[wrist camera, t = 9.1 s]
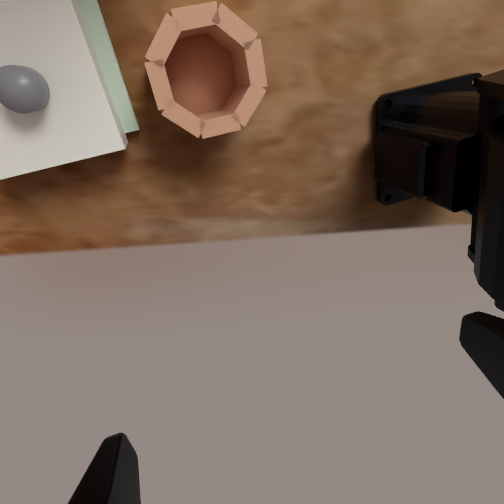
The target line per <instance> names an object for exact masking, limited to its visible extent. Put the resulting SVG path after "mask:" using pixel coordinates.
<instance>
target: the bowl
mask: <svg viewBox="0 0 504 504" xmlns="http://www.w3.org/2000/svg"><path fill="white" fill-rule="evenodd" d="M257 35H258V34H257V33H256V32H255V31H254V30H253V29H252V28H250V27H249V26H248V25H247V24H246V23H245V22H243V21H242V20H241V19H240V18H239V17H238V16H237V15H235V14H234V13H233V12H232V11H231V10H230V9H228V8H227V7H226V6H225V5H224V4H223V3H220V5H219V6H218V7H217V2H216V1H213V2H208V3H202V4H197V5H192V6H187V7H181V8H176V9H171V11H170V15H169V14H168V13H166V15H165V17H164V19H163V21H162V23H161V25H160V27H159V29H158V31H157V33H156V35H155V37H154V39H153V41H152V43H151V45H150V47H149V49H148V51H147V53H146V55H145V59H146V61H147V62H145V63H144V64H145V67H146V70H147V74H148V77H149V80H150V84H151V87H152V90H153V94H154V97H155V101H156V104H157V107H158V110H161V114H162V115H163V116H164V117H166V118H168V119H169V120H171V121H172V122H174V123H175V124H177V125H179V126H180V127H182V128H183V129H185V130H186V131H188V132H190V133H191V134H193V135H194V136H196V137H197V138H199V136H201V137H202V138H203V139H204V138H209V137H213V136H217V135H221V134H225V133H229V132H234V131H238V130H241V127H240V125H242V126H244V127H245V126H246V124H247V122H248V121H249V119H250V117H251V116H252V114H253V112H254V111H255V109H256V107H257V106H258V104H259V103H260V101H261V99H262V98H263V96H264V94H265V93H266V90H265V89H264V88H262V87H265V86H267V79H266V72H265V66H264V59H263V52H262V45H261V39H257V40H255V38H256V37H257Z"/></svg>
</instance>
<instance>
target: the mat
mask: <svg viewBox="0 0 504 504" xmlns="http://www.w3.org/2000/svg"><path fill="white" fill-rule="evenodd" d="M77 1H78V4H79V7H80V10H81V12H82V15H83V18H84V21H85V24H86V26H87V29H88V32H89V35H90V37H91V40H92V43H93V46H94V49H95V51H96V54H97V57H98V60H99V62H100V65H101V68H102V71H103V74H104V76H105V79H106V82H107V85H108V87H109V90H110V93H111V96H112V98H113V101H114V104H115V107H116V110H117V112H118V115H119V118H120V121H121V123H122V126H123V129H124V132H125V133H128V132H132V131H137V130H139V129H140V128H139V125H138V122H137V119H136V116H135V113H134V110H133V107H132V104H131V101H130V98H129V95H128V92H127V89H126V86H125V83H124V80H123V77H122V73H121V70H120V67H119V64H118V61H117V58H116V55H115V52H114V49H113V46H112V43H111V40H110V37H109V34H108V31H107V28H106V25H105V22H104V19H103V16H102V13H101V10H100V7H99V4H98V1H97V0H77Z"/></svg>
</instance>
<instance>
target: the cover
mask: <svg viewBox="0 0 504 504" xmlns="http://www.w3.org/2000/svg"><path fill="white" fill-rule="evenodd" d="M127 145H128V140H127V137H126V135H125V132H124V129H123V126H122V123H121V121H120V118H119V115H118V112H117V110H116V107H115V104H114V101H113V98H112V96H111V93H110V90H109V87H108V85H107V82H106V79H105V76H104V74H103V71H102V68H101V65H100V62H99V60H98V57H97V54H96V51H95V49H94V46H93V43H92V40H91V37H90V35H89V32H88V29H87V26H86V24H85V21H84V18H83V15H82V12H81V10H80V7H79V4H78V1H77V0H0V180H1V179H5V178H9V177H14V176H18V175H22V174H26V173H30V172H34V171H38V170H42V169H46V168H50V167H54V166H58V165H62V164H66V163H71V162H75V161H79V160H83V159H87V158H91V157H95V156H99V155H103V154H107V153H111V152H115V151H119V150H123V149H126V147H127Z"/></svg>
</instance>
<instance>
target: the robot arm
mask: <svg viewBox="0 0 504 504" xmlns="http://www.w3.org/2000/svg"><path fill="white" fill-rule="evenodd" d="M473 80H474V83H473V85H472V81H473ZM386 100H388V105H387V107H386V108H385V107H384V103H385V101H386ZM375 178H376V179H377V200H378V201H379V202H380V203H382V204H384V205H389V204H393V203H396V202H400V201H403V200H407V199H410V198H414V197H416V198H418V199H425V200H427V201H429V202H432V203H434V204H436V205H438V206H441V207H443V208H445V209H448V210H450V211H452V212H458V211H462V212H464V213H467V214H469V215H471V216H472V228H471V244H470V245H469V246H468V257H469V258H470V259H471V261H472V262H473V263H474V273H475V276H476V279H477V282H478V284H479V285H480V286H481V287H482V288H483V289H484V290H485V291H486V292H487V293H488V294H489V295H490V296H491V297H492V298H493V299H494V300H495V302H494V303H495V306H496V307H497V308H498V309H500V310H502V311H504V70H501V71H498V72H495V73H492V74H489V75H486V76H483V77H482V75H481V74H480V73H470V74H466V75H461V76H457V77H453V78H449V79H445V80H441V81H436V82H432V83H428V84H424V85H420V86H415V87H411V88H407V89H403V90H399V91H394V92H390V93H386V94H383V95H381V96H380V97H379V98H378V100H377V102H376V137H375ZM386 194H388V196H387V198H386V199H384V197H385V195H386ZM459 339H460V342H461V345H462V347H463V348H464V349H465V351H466V352H467V353H468V355H469V356H470V357H471V359H472V360H473V361H474V362H475V364H476V365H477V366H478V367H479V369H480V370H481V371H482V373H483V374H484V375H485V376H486V378H487V379H488V380H489V381H490V383H491V384H492V385H493V387H495V389H496V390H497V391H498V393H499V394H500V395H501V396H502V398H503V399H504V319H502V318H499V317H496V316H493V315H490V314H487V313H483V312H479V311H478V312H473V313H471V314H467V315H465V316H464V317H463V318H462V323H461V329H460V338H459ZM68 504H141V500H140V484H139V469H138V458H137V454H136V452H135V450H134V448H133V447H132V445H131V443H130V441H129V440H128V438H127V436H126V435H125V434H124V433H118V434H115V435H112V436H109V437H107V438H106V439H105V440H104V441H103V442H102V444H101V446H100V447H99V449H98V451H97V453H96V455H95V456H94V458H93V460H92V462H91V463H90V465H89V467H88V469H87V471H86V472H85V474H84V476H83V477H82V479H81V481H80V483H79V485H78V486H77V488H76V490H75V492H74V493H73V495H72V497H71V499H70V501H69V502H68Z"/></svg>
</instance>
